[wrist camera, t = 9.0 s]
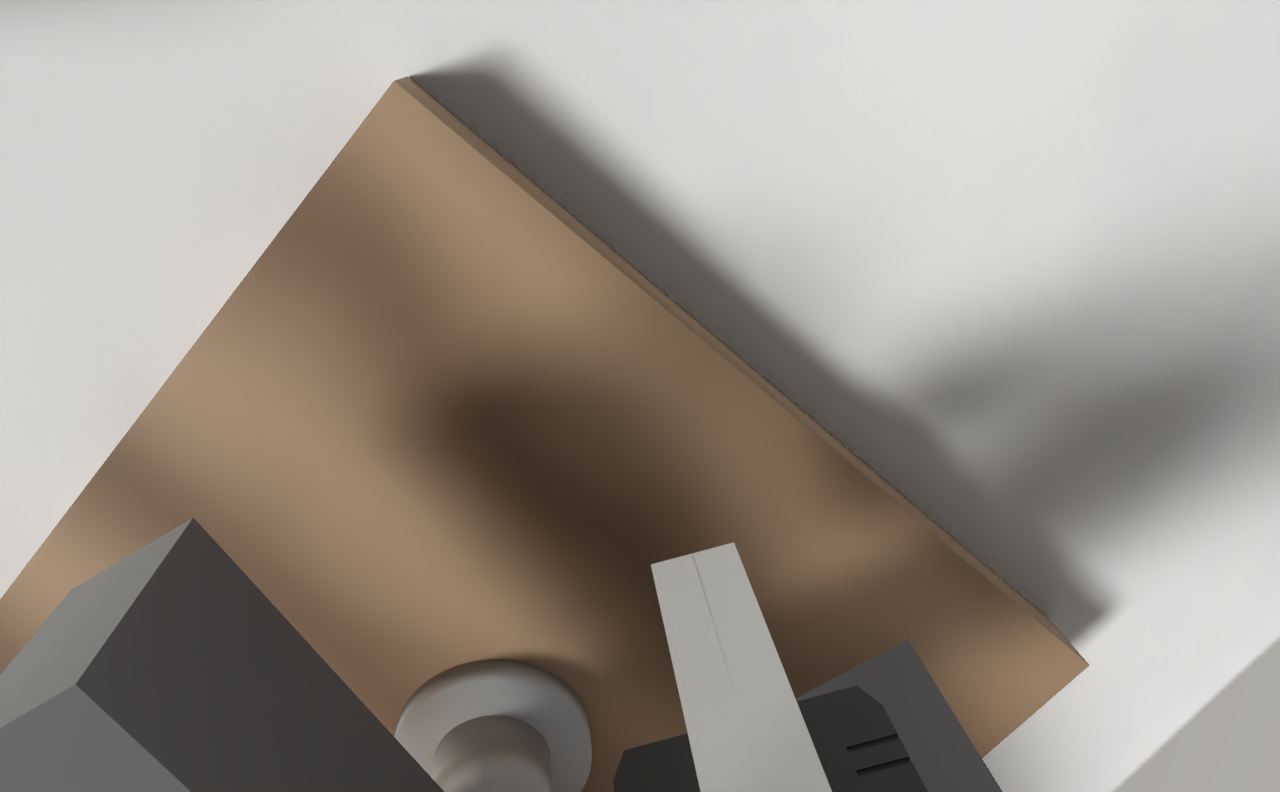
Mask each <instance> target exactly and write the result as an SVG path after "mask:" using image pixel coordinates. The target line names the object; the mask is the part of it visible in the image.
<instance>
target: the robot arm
mask: <svg viewBox="0 0 1280 792" xmlns="http://www.w3.org/2000/svg"><path fill="white" fill-rule="evenodd" d="M651 568H652V573H653V577H654V582H655V586H656V591H657V596H658V600H659V605H660V609H661V614H662V618H663V623H664V627H665V632H666V637H667V641H668V646H669V650H670V655H671V659H672V664H673V668H674V673H675V678H676V682H677V687H678V691H679V696H680V700H681V705H682V710H683V714H684V719H685V723H686V728H687V732H688V733H686V734H683V735H679V736H675V737H671V738H668V739H664V740H660V741H656V742H653V743H649V744H645V745H642V746H638V747H634V748H630V749H627V750H624V751H623V754H622V757H621V760H620V763H619V765H618V768H617V771H616V774H615V777H614V779H613V786H614V792H928V791H927V789H926V787H925V785H924V783H923V782H922V780H921V778H920V776H919V774H918V772H917V770H916V768H915V766H914V764H913V762H911V760H910V757H909V755H908V753H907V751H906V749H905V747H904V745H903V743H902V741H901V739H899V737H898V733H897V732H896V730H895V728H894V726H893V724H892V722H891V720H890V718H889V716H888V714H887V712H886V710H885V708H884V706H883V705H882V704H880V703H879V702H878V701H876V700H875V699H874V698H873V697H871V696H870V695H869V694H867V693H866V692H865V691H864V690H862V689H861V688H860V687H858V686H857V685H856V686H852V687H849V688H845V689H841V690H838V691H834V692H830V693H826V694H823V695H819V696H815V697H812V698H808V699H804V700H800V701H796V699H795V696H794V694H793V691H792V689H791V686H790V683H789V681H788V678H787V676H786V673H785V671H784V668H783V666H782V663H781V661H780V658H779V655H778V653H777V650H776V648H775V645H774V643H773V640H772V638H771V635H770V633H769V630H768V627H767V625H766V622H765V620H764V617H763V615H762V612H761V610H760V607H759V605H758V602H757V599H756V597H755V594H754V592H753V589H752V587H751V584H750V582H749V579H748V577H747V574H746V571H745V569H744V566H743V564H742V561H741V559H740V556H739V554H738V551H737V549H736V546H735V543H734V542H733V543H729V544H726V545H722V546H718V547H715V548H711V549H707V550H703V551H700V552H696V553H692V554H688V555H685V556H681V557H677V558H673V559H670V560H666V561H662V562H658V563H655V564H651Z"/></svg>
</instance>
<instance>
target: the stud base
mask: <svg viewBox="0 0 1280 792" xmlns="http://www.w3.org/2000/svg"><path fill="white" fill-rule="evenodd" d="M193 517H194V519H195V520H196V521H197V522H198V523H199V524H200V525H201V526H202V527H203V528H204V530H205V531H206V532H207V533H208V534H209V535H210V536H211V537H212V538H213V539H214V540H215V542H216V543H217V544H218V545H219V546H220V547H221V548H222V549H223V550H224V551H225V552H226V554H227V555H228V556H229V557H230V558H231V559H232V560H233V561H234V562H235V563H236V564H237V566H238V567H239V568H240V569H241V570H242V571H243V572H244V573H245V574H246V575H247V577H248V578H249V579H250V580H251V581H252V582H253V583H254V584H255V585H256V586H257V587H258V589H259V590H260V591H261V592H262V593H263V594H264V595H265V596H266V597H267V598H268V599H269V601H270V602H271V603H272V604H273V605H274V606H275V607H276V608H277V609H278V610H279V612H280V613H281V614H282V615H283V616H284V617H285V618H286V619H287V620H288V621H289V622H290V624H291V625H292V626H293V627H294V628H295V629H296V630H297V631H298V632H299V633H300V634H301V636H302V637H303V638H304V639H305V640H306V641H307V642H308V643H309V644H310V645H311V646H312V648H313V649H314V650H315V651H316V652H317V653H318V654H319V655H320V656H321V657H322V659H323V660H324V661H325V662H326V663H327V664H328V665H329V666H330V667H331V668H332V669H333V671H334V672H335V673H336V674H337V675H338V676H339V677H340V678H341V679H342V680H343V681H344V683H345V684H346V685H347V686H348V687H349V688H350V689H351V690H352V691H353V692H354V693H355V695H356V696H357V697H358V698H359V699H360V700H361V701H362V702H363V703H364V704H365V706H366V707H367V708H368V709H369V710H370V711H371V712H372V713H373V714H374V715H375V716H376V718H377V719H378V720H379V721H380V722H381V723H382V724H383V725H384V726H385V727H386V728H387V730H388V731H389V732H390V733H391V734H392V735H393V736H394V737H395V738H396V739H397V741H398V742H399V743H400V744H401V745H402V746H403V747H404V748H405V749H406V750H407V751H408V753H409V754H410V755H411V756H412V757H413V758H414V759H415V760H416V761H417V762H418V763H419V765H420V766H421V767H422V768H423V769H424V770H425V771H426V772H427V773H428V774H429V775H430V777H431V778H432V779H433V780H434V781H435V782H436V783H437V784H438V785H439V786H440V788H441V789H442V790H443V791H444V792H614V786H613V779H614V777H615V774H616V771H617V768H618V765H619V763H620V760H621V757H622V754H623V751H624V750H627V749H630V748H634V747H638V746H642V745H645V744H649V743H653V742H656V741H660V740H664V739H668V738H671V737H675V736H679V735H683V734H686V733H688V732H687V728H686V723H685V719H684V714H683V710H682V705H681V700H680V696H679V691H678V687H677V682H676V678H675V673H674V668H673V664H672V659H671V655H670V650H669V646H668V641H667V637H666V632H665V627H664V623H663V618H662V614H661V609H660V605H659V600H658V596H657V591H656V586H655V582H654V577H653V573H652V568H651V564H655V563H658V562H662V561H666V560H670V559H673V558H677V557H681V556H685V555H688V554H692V553H696V552H700V551H703V550H707V549H711V548H715V547H718V546H722V545H726V544H729V543H733V542H734V543H735V546H736V549H737V551H738V554H739V556H740V559H741V561H742V564H743V566H744V569H745V571H746V574H747V577H748V579H749V582H750V584H751V587H752V589H753V592H754V594H755V597H756V599H757V602H758V605H759V607H760V610H761V612H762V615H763V617H764V620H765V622H766V625H767V627H768V630H769V633H770V635H771V638H772V640H773V643H774V645H775V648H776V650H777V653H778V655H779V658H780V661H781V663H782V666H783V668H784V671H785V673H786V676H787V678H788V681H789V683H790V686H791V689H792V691H793V694H794V696H795V699H796V698H798V697H800V696H801V695H803V694H805V693H807V692H809V691H811V690H813V689H815V688H817V687H818V686H820V685H822V684H824V683H826V682H828V681H830V680H832V679H834V678H835V677H837V676H839V675H841V674H843V673H845V672H847V671H849V670H851V669H852V668H854V667H856V666H858V665H860V664H862V663H864V662H866V661H868V660H869V659H871V658H873V657H875V656H877V655H879V654H881V653H883V652H885V651H887V650H888V649H890V648H892V647H894V646H896V645H898V644H900V643H902V642H904V641H905V640H907V639H908V640H909V641H910V643H911V645H912V646H913V648H914V650H915V651H916V653H917V654H918V656H919V658H920V659H921V661H922V663H923V664H924V666H925V667H926V669H927V671H928V672H929V674H930V675H931V677H932V679H933V680H934V682H935V684H936V685H937V687H938V688H939V690H940V692H941V693H942V695H943V697H944V698H945V700H946V701H947V703H948V705H949V706H950V708H951V710H952V711H953V713H954V714H955V716H956V718H957V719H958V721H959V723H960V724H961V726H962V727H963V729H964V731H965V732H966V734H967V735H968V737H969V739H970V740H971V742H972V744H973V745H974V747H975V748H976V750H977V752H978V753H979V755H980V757H981V758H983V757H984V756H985V755H986V754H988V753H989V752H990V751H991V750H992V749H993V748H994V747H996V746H997V745H998V744H999V743H1000V742H1001V741H1003V740H1004V739H1005V738H1006V737H1007V736H1008V735H1009V734H1011V733H1012V732H1013V731H1014V730H1015V729H1016V728H1018V727H1019V726H1020V725H1021V724H1022V723H1023V722H1024V721H1026V720H1027V719H1028V718H1029V717H1030V716H1031V715H1033V714H1034V713H1035V712H1036V711H1037V710H1038V709H1039V708H1041V707H1042V706H1043V705H1044V704H1045V703H1046V702H1048V701H1049V700H1050V699H1051V698H1052V697H1053V696H1055V695H1056V694H1057V693H1058V692H1059V691H1060V690H1061V689H1063V688H1064V687H1065V686H1066V685H1067V684H1068V683H1070V682H1071V681H1072V680H1073V679H1074V678H1075V677H1076V676H1078V675H1079V674H1080V673H1081V672H1082V671H1083V670H1085V669H1086V668H1087V667H1088V666H1089V664H1088V663H1087V662H1086V661H1085V659H1084V658H1083V657H1082V656H1081V655H1080V654H1079V653H1078V651H1077V650H1076V649H1075V648H1074V647H1073V646H1072V645H1071V644H1070V642H1069V641H1068V640H1067V639H1066V638H1065V637H1064V636H1063V634H1062V633H1061V632H1060V631H1059V630H1058V629H1057V628H1056V626H1055V625H1054V624H1053V623H1052V622H1051V621H1050V620H1049V619H1048V618H1047V617H1046V616H1044V615H1043V614H1042V613H1041V612H1040V611H1039V610H1037V609H1036V608H1035V607H1034V606H1033V605H1031V604H1030V603H1029V602H1028V601H1027V600H1026V599H1024V598H1023V597H1022V596H1021V595H1020V594H1018V593H1017V592H1016V591H1015V590H1014V589H1013V588H1011V587H1010V586H1009V585H1008V584H1007V583H1006V582H1004V581H1003V580H1002V579H1001V578H1000V577H998V576H997V575H996V574H995V573H994V572H993V571H991V570H990V569H989V568H988V567H987V566H985V565H984V564H983V563H982V562H981V561H980V560H978V559H977V558H976V557H975V556H974V555H972V554H971V553H970V552H969V551H968V550H967V549H965V548H964V547H963V546H962V545H961V544H959V543H958V542H957V541H956V540H955V539H954V538H952V537H951V536H950V535H949V534H948V533H946V532H945V531H944V530H943V529H942V528H941V527H939V526H938V525H937V524H936V523H935V522H933V521H932V520H931V519H930V518H929V517H928V516H926V515H925V514H924V513H923V512H922V511H920V510H919V509H918V508H917V507H916V506H915V505H913V504H912V503H911V502H910V501H909V500H907V499H906V498H905V497H904V496H903V495H902V494H900V493H899V492H898V491H897V490H896V489H894V488H893V487H892V486H891V485H890V484H889V483H887V482H886V481H885V480H884V479H883V478H881V477H880V476H879V475H878V474H877V473H876V472H874V471H873V470H872V469H871V468H870V467H868V466H867V465H866V464H865V463H864V462H863V461H861V460H860V459H859V458H858V457H857V456H855V455H854V454H853V453H852V452H851V451H850V450H848V449H847V448H846V447H845V446H844V445H842V444H841V443H840V442H839V441H838V440H837V439H835V438H834V437H833V436H832V435H831V434H829V433H828V432H827V431H826V430H825V429H824V428H822V427H821V426H820V425H819V424H818V423H816V422H815V421H814V420H813V419H812V418H811V417H809V416H808V415H807V414H806V413H805V412H803V411H802V410H801V409H800V408H799V407H798V406H796V405H795V404H794V403H793V402H792V401H790V400H789V399H788V398H787V397H786V396H785V395H783V394H782V393H781V392H780V391H779V390H777V389H776V388H775V387H774V386H773V385H772V384H770V383H769V382H768V381H767V380H766V379H764V378H763V377H762V376H761V375H760V374H759V373H757V372H756V371H755V370H754V369H753V368H751V367H750V366H749V365H748V364H747V363H746V362H744V361H743V360H742V359H741V358H740V357H738V356H737V355H736V354H735V353H734V352H733V351H731V350H730V349H729V348H728V347H727V346H725V345H724V344H723V343H722V342H721V341H720V340H718V339H717V338H716V337H715V336H714V335H712V334H711V333H710V332H709V331H708V330H707V329H705V328H704V327H703V326H702V325H701V324H700V323H698V322H697V321H696V320H695V319H694V318H692V317H691V316H690V315H689V314H688V313H687V312H685V311H684V310H683V309H682V308H681V307H679V306H678V305H677V304H676V303H675V302H674V301H672V300H671V299H670V298H669V297H668V296H666V295H665V294H664V293H663V292H662V291H661V290H659V289H658V288H657V287H656V286H655V285H653V284H652V283H651V282H650V281H649V280H648V279H646V278H645V277H644V276H643V275H642V274H640V273H639V272H638V271H637V270H636V269H635V268H633V267H632V266H631V265H630V264H629V263H627V262H626V261H625V260H624V259H623V258H622V257H620V256H619V255H618V254H617V253H616V252H614V251H613V250H612V249H611V248H610V247H609V246H607V245H606V244H605V243H604V242H603V241H601V240H600V239H599V238H598V237H597V236H596V235H594V234H593V233H592V232H591V231H590V230H588V229H587V228H586V227H585V226H584V225H583V224H581V223H580V222H579V221H578V220H577V219H575V218H574V217H573V216H572V215H571V214H570V213H568V212H567V211H566V210H565V209H564V208H562V207H561V206H560V205H559V204H558V203H557V202H555V201H554V200H553V199H552V198H551V197H549V196H548V195H547V194H546V193H545V192H544V191H542V190H541V189H540V188H539V187H538V186H536V185H535V184H534V183H533V182H532V181H531V180H529V179H528V178H527V177H526V176H525V175H523V174H522V173H521V172H520V171H519V170H518V169H516V168H515V167H514V166H513V165H512V164H510V163H509V162H508V161H507V160H506V159H505V158H503V157H502V156H501V155H500V154H499V153H497V152H496V151H495V150H494V149H493V148H492V147H490V146H489V145H488V144H487V143H486V142H484V141H483V140H482V139H481V138H480V137H479V136H477V135H476V134H475V133H474V132H473V131H471V130H470V129H469V128H468V127H467V126H466V125H464V124H463V123H462V122H461V121H460V120H458V119H457V118H456V117H455V116H454V115H453V114H451V113H450V112H449V111H448V110H447V109H445V108H444V107H443V106H442V105H441V104H440V103H438V102H437V101H436V100H435V99H434V98H432V97H431V96H430V95H429V94H428V93H427V92H425V91H424V90H423V89H422V88H421V87H419V86H418V85H417V84H416V83H415V82H414V81H412V80H411V79H410V78H409V77H405V78H402V79H399V80H396V81H394V82H393V83H392V84H391V86H390V87H389V88H388V90H387V91H386V92H385V93H384V95H383V96H382V97H381V99H380V100H379V101H378V103H377V104H376V105H375V107H374V108H373V109H372V111H371V112H370V113H369V115H368V116H367V117H366V119H365V120H364V121H363V122H362V124H361V125H360V126H359V128H358V129H357V130H356V132H355V133H354V134H353V136H352V137H351V138H350V140H349V141H348V142H347V144H346V145H345V146H344V147H343V149H342V150H341V151H340V153H339V154H338V155H337V157H336V158H335V159H334V161H333V162H332V163H331V165H330V166H329V167H328V169H327V170H326V171H325V173H324V174H323V175H322V176H321V178H320V179H319V180H318V182H317V183H316V184H315V186H314V187H313V188H312V190H311V191H310V192H309V194H308V195H307V196H306V198H305V199H304V200H303V202H302V203H301V204H300V205H299V207H298V208H297V209H296V211H295V212H294V213H293V215H292V216H291V217H290V219H289V220H288V221H287V223H286V224H285V225H284V227H283V228H282V229H281V230H280V232H279V233H278V234H277V236H276V237H275V238H274V240H273V241H272V242H271V244H270V245H269V246H268V248H267V249H266V250H265V252H264V253H263V254H262V256H261V257H260V258H259V259H258V261H257V262H256V263H255V265H254V266H253V267H252V269H251V270H250V271H249V273H248V274H247V275H246V277H245V278H244V279H243V281H242V282H241V283H240V284H239V286H238V287H237V288H236V290H235V291H234V292H233V294H232V295H231V296H230V298H229V299H228V300H227V302H226V303H225V304H224V306H223V307H222V308H221V310H220V311H219V312H218V313H217V315H216V316H215V317H214V319H213V320H212V321H211V323H210V324H209V325H208V327H207V328H206V329H205V331H204V332H203V333H202V335H201V336H200V337H199V339H198V340H197V341H196V342H195V344H194V345H193V346H192V348H191V349H190V350H189V352H188V353H187V354H186V356H185V357H184V358H183V360H182V361H181V362H180V364H179V365H178V366H177V367H176V369H175V370H174V371H173V373H172V374H171V375H170V377H169V378H168V379H167V381H166V382H165V383H164V385H163V386H162V387H161V389H160V390H159V391H158V393H157V394H156V395H155V396H154V398H153V399H152V400H151V402H150V403H149V404H148V406H147V407H146V408H145V410H144V411H143V412H142V414H141V415H140V416H139V418H138V419H137V420H136V422H135V423H134V424H133V425H132V427H131V428H130V429H129V431H128V432H127V433H126V435H125V436H124V437H123V439H122V440H121V441H120V443H119V444H118V445H117V447H116V448H115V449H114V450H113V452H112V453H111V454H110V456H109V457H108V458H107V460H106V461H105V462H104V464H103V465H102V466H101V468H100V469H99V470H98V472H97V473H96V474H95V476H94V477H93V478H92V479H91V481H90V482H89V483H88V485H87V486H86V487H85V489H84V490H83V491H82V493H81V494H80V495H79V497H78V498H77V499H76V501H75V502H74V503H73V505H72V506H71V507H70V508H69V510H68V511H67V512H66V514H65V515H64V516H63V518H62V519H61V520H60V522H59V523H58V524H57V526H56V527H55V528H54V530H53V531H52V532H51V533H50V535H49V536H48V537H47V539H46V540H45V541H44V543H43V544H42V545H41V547H40V548H39V549H38V551H37V552H36V553H35V555H34V556H33V557H32V559H31V560H30V561H29V562H28V564H27V565H26V566H25V568H24V569H23V570H22V572H21V573H20V574H19V576H18V577H17V578H16V580H15V581H14V582H13V584H12V585H11V586H10V588H9V589H8V590H7V591H6V593H5V594H4V595H3V597H2V598H1V599H0V675H1V673H2V672H3V671H4V670H5V669H6V667H7V666H8V665H9V664H10V663H11V661H12V660H13V659H14V658H15V657H16V655H17V654H18V653H19V652H20V651H21V649H22V648H23V647H24V646H25V645H26V643H27V642H28V641H29V640H30V639H31V637H32V636H33V635H34V634H35V633H36V632H37V630H38V629H39V628H40V627H41V626H42V624H43V623H44V622H45V621H46V620H47V618H48V617H49V616H50V615H51V614H52V612H53V611H54V610H55V609H56V608H57V606H58V605H59V604H60V603H61V602H62V600H63V599H64V598H65V597H66V596H67V594H68V593H69V592H70V591H71V590H72V589H74V588H75V587H77V586H79V585H80V584H82V583H84V582H85V581H87V580H89V579H90V578H92V577H94V576H96V575H97V574H99V573H101V572H102V571H104V570H106V569H107V568H109V567H111V566H112V565H114V564H116V563H117V562H119V561H121V560H122V559H124V558H126V557H127V556H129V555H131V554H133V553H134V552H136V551H138V550H139V549H141V548H143V547H144V546H146V545H148V544H149V543H151V542H153V541H154V540H156V539H158V538H159V537H161V536H163V535H164V534H166V533H168V532H170V531H171V530H173V529H175V528H176V527H178V526H180V525H181V524H183V523H185V522H186V521H188V520H190V519H191V518H193Z"/></svg>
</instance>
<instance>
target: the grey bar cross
mask: <svg viewBox="0 0 1280 792" xmlns="http://www.w3.org/2000/svg"><path fill="white" fill-rule="evenodd" d="M856 685H857V686H858V687H860V688H861V689H862V690H864V691H865V692H866V693H867V694H869V695H870V696H871V697H873V698H874V699H875V700H876V701H878V702H879V703H880V704H882V705H883V706H884V708H885V710H886V712H887V714H888V716H889V718H890V720H891V722H892V724H893V726H894V728H895V730H896V732H897V733H898V737H899V739H901V741H902V743H903V745H904V747H905V749H906V751H907V753H908V755H909V757H910V760H911V762H913V764H914V766H915V768H916V770H917V772H918V774H919V776H920V778H921V780H922V782H923V783H924V785H925V787H926V789H927V791H928V792H1002V791H1001V789H1000V787H999V786H998V784H997V782H996V781H995V779H994V778H993V776H992V774H991V773H990V771H989V770H988V768H987V766H986V765H985V763H984V761H983V760H982V758H981V757H980V755H979V753H978V752H977V750H976V748H975V747H974V745H973V744H972V742H971V740H970V739H969V737H968V735H967V734H966V732H965V731H964V729H963V727H962V726H961V724H960V723H959V721H958V719H957V718H956V716H955V714H954V713H953V711H952V710H951V708H950V706H949V705H948V703H947V701H946V700H945V698H944V697H943V695H942V693H941V692H940V690H939V688H938V687H937V685H936V684H935V682H934V680H933V679H932V677H931V675H930V674H929V672H928V671H927V669H926V667H925V666H924V664H923V663H922V661H921V659H920V658H919V656H918V654H917V653H916V651H915V650H914V648H913V646H912V645H911V643H910V641H909V640H908V639H907V640H905V641H904V642H902V643H900V644H898V645H896V646H894V647H892V648H890V649H888V650H887V651H885V652H883V653H881V654H879V655H877V656H875V657H873V658H871V659H869V660H868V661H866V662H864V663H862V664H860V665H858V666H856V667H854V668H852V669H851V670H849V671H847V672H845V673H843V674H841V675H839V676H837V677H835V678H834V679H832V680H830V681H828V682H826V683H824V684H822V685H820V686H818V687H817V688H815V689H813V690H811V691H809V692H807V693H805V694H803V695H801V696H800V697H798V698H796V701H800V700H804V699H808V698H812V697H815V696H819V695H823V694H826V693H830V692H834V691H838V690H841V689H845V688H849V687H852V686H856ZM0 792H444V791H443V790H442V789H441V788H440V786H439V785H438V784H437V783H436V782H435V781H434V780H433V779H432V778H431V777H430V775H429V774H428V773H427V772H426V771H425V770H424V769H423V768H422V767H421V766H420V765H419V763H418V762H417V761H416V760H415V759H414V758H413V757H412V756H411V755H410V754H409V753H408V751H407V750H406V749H405V748H404V747H403V746H402V745H401V744H400V743H399V742H398V741H397V739H396V738H395V737H394V736H393V735H392V734H391V733H390V732H389V731H388V730H387V728H386V727H385V726H384V725H383V724H382V723H381V722H380V721H379V720H378V719H377V718H376V716H375V715H374V714H373V713H372V712H371V711H370V710H369V709H368V708H367V707H366V706H365V704H364V703H363V702H362V701H361V700H360V699H359V698H358V697H357V696H356V695H355V693H354V692H353V691H352V690H351V689H350V688H349V687H348V686H347V685H346V684H345V683H344V681H343V680H342V679H341V678H340V677H339V676H338V675H337V674H336V673H335V672H334V671H333V669H332V668H331V667H330V666H329V665H328V664H327V663H326V662H325V661H324V660H323V659H322V657H321V656H320V655H319V654H318V653H317V652H316V651H315V650H314V649H313V648H312V646H311V645H310V644H309V643H308V642H307V641H306V640H305V639H304V638H303V637H302V636H301V634H300V633H299V632H298V631H297V630H296V629H295V628H294V627H293V626H292V625H291V624H290V622H289V621H288V620H287V619H286V618H285V617H284V616H283V615H282V614H281V613H280V612H279V610H278V609H277V608H276V607H275V606H274V605H273V604H272V603H271V602H270V601H269V599H268V598H267V597H266V596H265V595H264V594H263V593H262V592H261V591H260V590H259V589H258V587H257V586H256V585H255V584H254V583H253V582H252V581H251V580H250V579H249V578H248V577H247V575H246V574H245V573H244V572H243V571H242V570H241V569H240V568H239V567H238V566H237V564H236V563H235V562H234V561H233V560H232V559H231V558H230V557H229V556H228V555H227V554H226V552H225V551H224V550H223V549H222V548H221V547H220V546H219V545H218V544H217V543H216V542H215V540H214V539H213V538H212V537H211V536H210V535H209V534H208V533H207V532H206V531H205V530H204V528H203V527H202V526H201V525H200V524H199V523H198V522H197V521H196V520H195V519H194V517H193V518H191V519H190V520H188V521H186V522H185V523H183V524H181V525H180V526H178V527H176V528H175V529H173V530H171V531H170V532H168V533H166V534H164V535H163V536H161V537H159V538H158V539H156V540H154V541H153V542H151V543H149V544H148V545H146V546H144V547H143V548H141V549H139V550H138V551H136V552H134V553H133V554H131V555H129V556H127V557H126V558H124V559H122V560H121V561H119V562H117V563H116V564H114V565H112V566H111V567H109V568H107V569H106V570H104V571H102V572H101V573H99V574H97V575H96V576H94V577H92V578H90V579H89V580H87V581H85V582H84V583H82V584H80V585H79V586H77V587H75V588H74V589H72V590H71V591H70V592H69V593H68V594H67V596H66V597H65V598H64V599H63V600H62V602H61V603H60V604H59V605H58V606H57V608H56V609H55V610H54V611H53V612H52V614H51V615H50V616H49V617H48V618H47V620H46V621H45V622H44V623H43V624H42V626H41V627H40V628H39V629H38V630H37V632H36V633H35V634H34V635H33V636H32V637H31V639H30V640H29V641H28V642H27V643H26V645H25V646H24V647H23V648H22V649H21V651H20V652H19V653H18V654H17V655H16V657H15V658H14V659H13V660H12V661H11V663H10V664H9V665H8V666H7V667H6V669H5V670H4V671H3V672H2V673H1V675H0Z"/></svg>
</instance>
